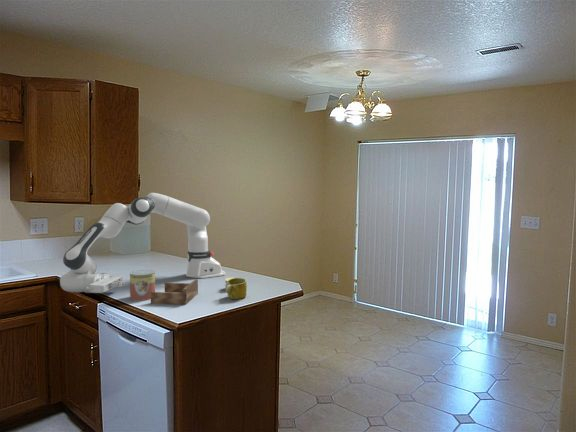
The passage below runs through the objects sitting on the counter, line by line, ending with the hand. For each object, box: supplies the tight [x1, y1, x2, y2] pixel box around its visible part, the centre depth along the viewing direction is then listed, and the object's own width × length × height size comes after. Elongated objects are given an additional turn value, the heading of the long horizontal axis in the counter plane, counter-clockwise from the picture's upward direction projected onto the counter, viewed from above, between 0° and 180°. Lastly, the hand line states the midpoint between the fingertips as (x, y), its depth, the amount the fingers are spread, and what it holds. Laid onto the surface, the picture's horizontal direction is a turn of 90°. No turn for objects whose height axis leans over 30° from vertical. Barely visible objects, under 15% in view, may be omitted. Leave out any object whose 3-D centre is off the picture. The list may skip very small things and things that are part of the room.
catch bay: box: [150, 278, 199, 305], centre depth 202 cm, size 16×18×7 cm
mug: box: [225, 277, 248, 300], centre depth 204 cm, size 12×10×10 cm
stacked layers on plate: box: [224, 276, 234, 287], centre depth 219 cm, size 10×9×6 cm
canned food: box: [129, 269, 156, 302], centre depth 203 cm, size 11×11×12 cm
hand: (123, 284), depth 203 cm, fingers closed
